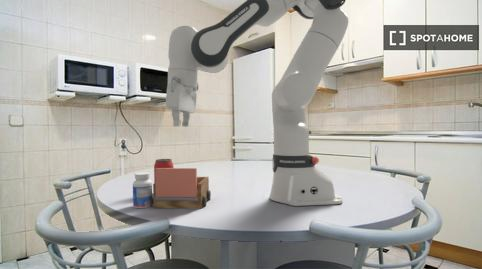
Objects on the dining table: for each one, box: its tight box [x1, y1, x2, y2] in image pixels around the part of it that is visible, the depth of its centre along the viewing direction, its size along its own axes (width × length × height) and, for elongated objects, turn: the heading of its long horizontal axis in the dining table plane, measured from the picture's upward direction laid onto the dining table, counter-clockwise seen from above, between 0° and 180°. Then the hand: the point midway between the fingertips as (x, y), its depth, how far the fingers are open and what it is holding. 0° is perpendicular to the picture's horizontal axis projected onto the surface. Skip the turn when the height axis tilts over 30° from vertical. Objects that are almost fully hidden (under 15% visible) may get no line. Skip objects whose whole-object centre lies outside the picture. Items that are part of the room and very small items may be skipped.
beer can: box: [153, 158, 174, 184], centre depth 98 cm, size 7×7×12 cm
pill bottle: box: [132, 171, 153, 209], centre depth 82 cm, size 6×5×10 cm
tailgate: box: [154, 167, 198, 201], centre depth 78 cm, size 12×1×9 cm, turn 87°
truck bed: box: [152, 176, 212, 209], centre depth 85 cm, size 16×12×7 cm
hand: (181, 126), depth 85 cm, fingers open, 8 cm apart
